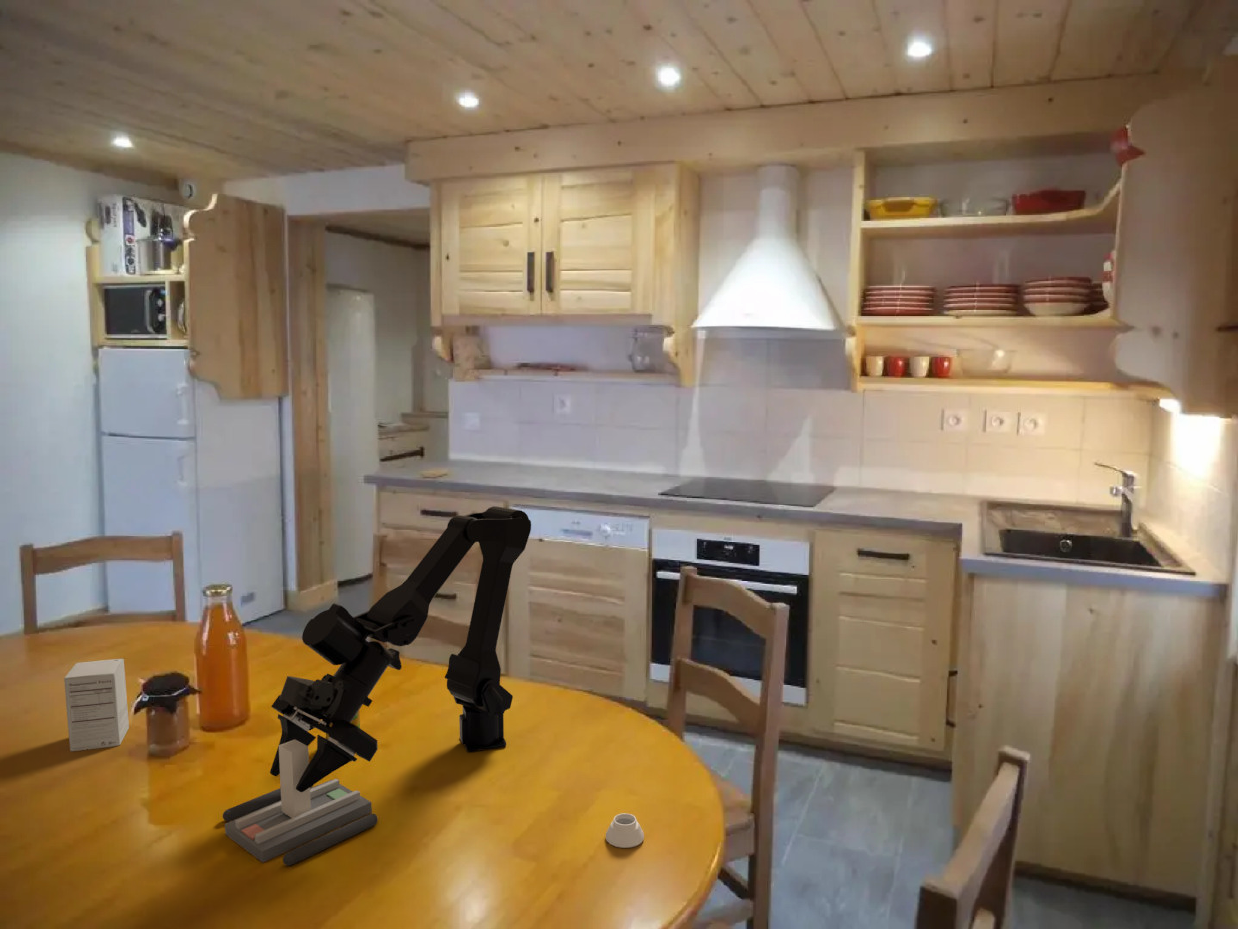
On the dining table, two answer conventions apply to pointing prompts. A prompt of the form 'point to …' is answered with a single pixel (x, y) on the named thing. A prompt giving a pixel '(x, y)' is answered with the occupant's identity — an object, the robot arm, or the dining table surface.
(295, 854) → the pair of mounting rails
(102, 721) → the supplement box
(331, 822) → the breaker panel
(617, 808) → the dining table surface
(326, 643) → the robot arm
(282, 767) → the handle
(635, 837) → the lidless jar
